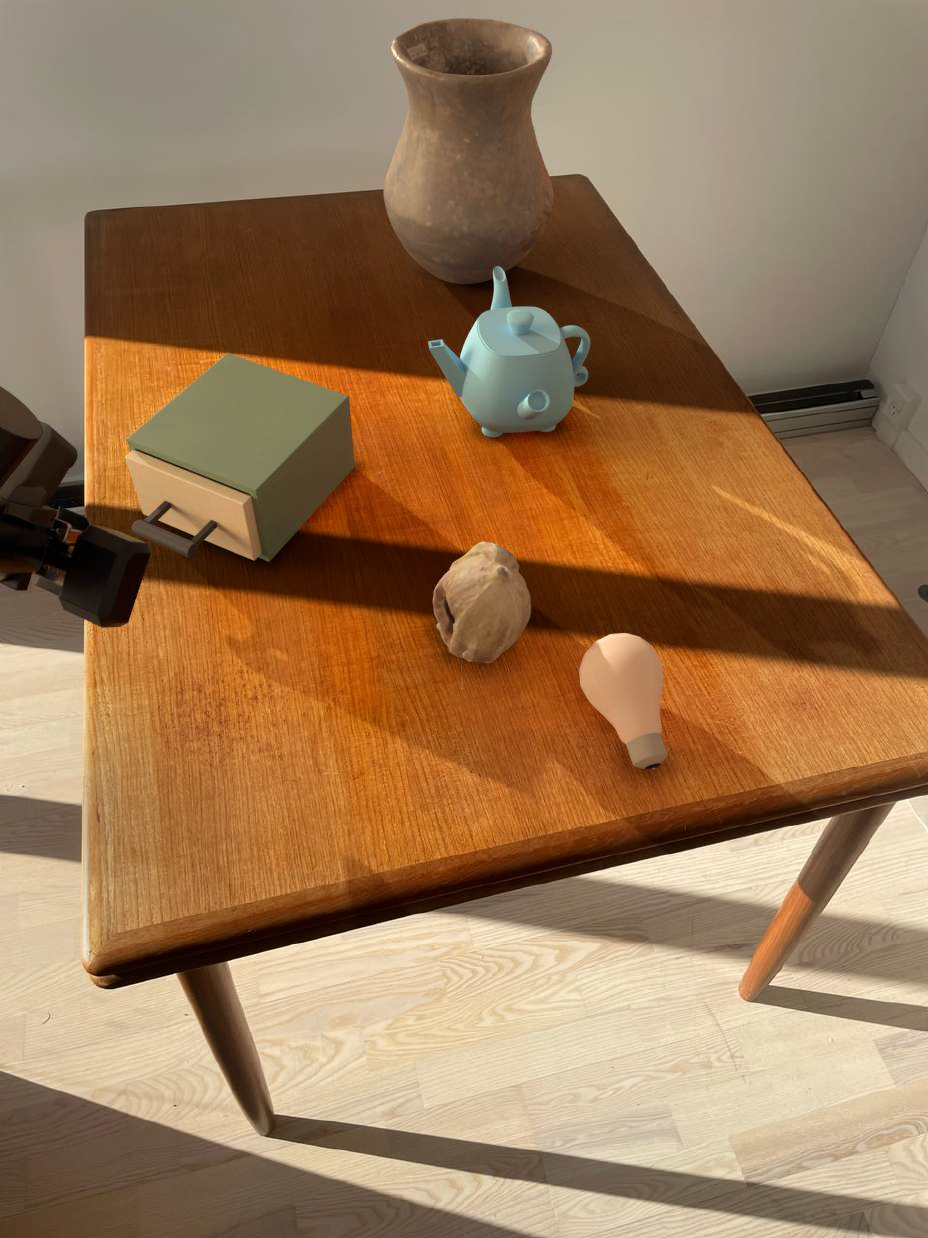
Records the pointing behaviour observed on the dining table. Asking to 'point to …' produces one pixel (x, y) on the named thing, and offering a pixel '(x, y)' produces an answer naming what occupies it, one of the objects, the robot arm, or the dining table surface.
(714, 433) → the dining table surface
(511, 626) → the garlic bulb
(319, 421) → the cabinet
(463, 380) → the teapot
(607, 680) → the light bulb
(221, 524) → the drawer
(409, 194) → the vase
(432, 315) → the dining table surface
